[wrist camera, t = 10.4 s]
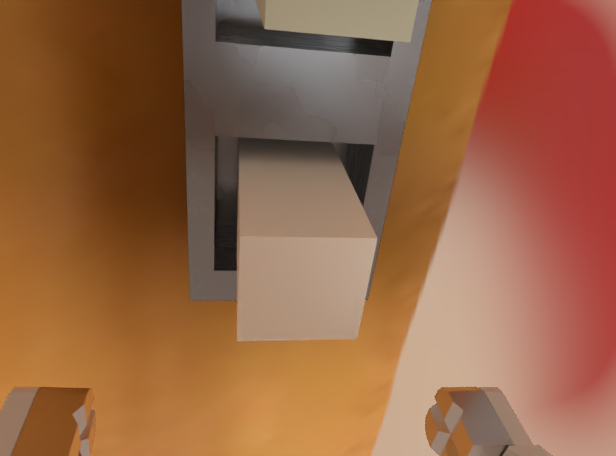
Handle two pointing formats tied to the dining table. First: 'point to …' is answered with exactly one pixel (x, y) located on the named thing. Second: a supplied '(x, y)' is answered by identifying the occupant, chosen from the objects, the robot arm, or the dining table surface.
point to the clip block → (299, 243)
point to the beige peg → (342, 17)
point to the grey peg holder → (283, 117)
